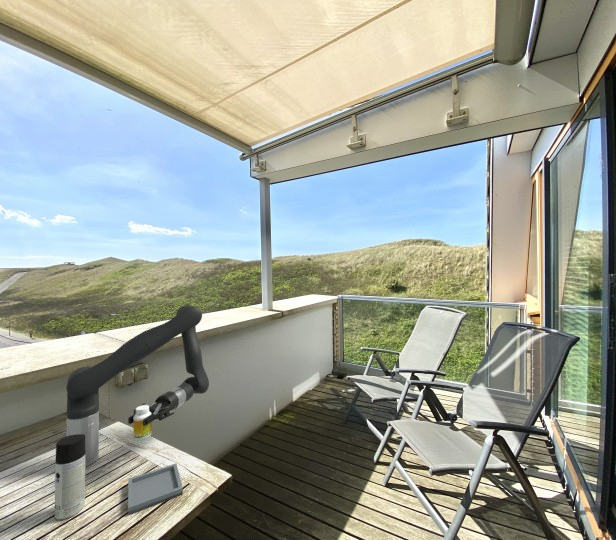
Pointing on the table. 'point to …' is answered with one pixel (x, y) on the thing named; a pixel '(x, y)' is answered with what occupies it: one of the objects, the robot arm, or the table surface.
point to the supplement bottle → (141, 423)
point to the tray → (153, 488)
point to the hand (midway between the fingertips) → (136, 421)
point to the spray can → (69, 476)
